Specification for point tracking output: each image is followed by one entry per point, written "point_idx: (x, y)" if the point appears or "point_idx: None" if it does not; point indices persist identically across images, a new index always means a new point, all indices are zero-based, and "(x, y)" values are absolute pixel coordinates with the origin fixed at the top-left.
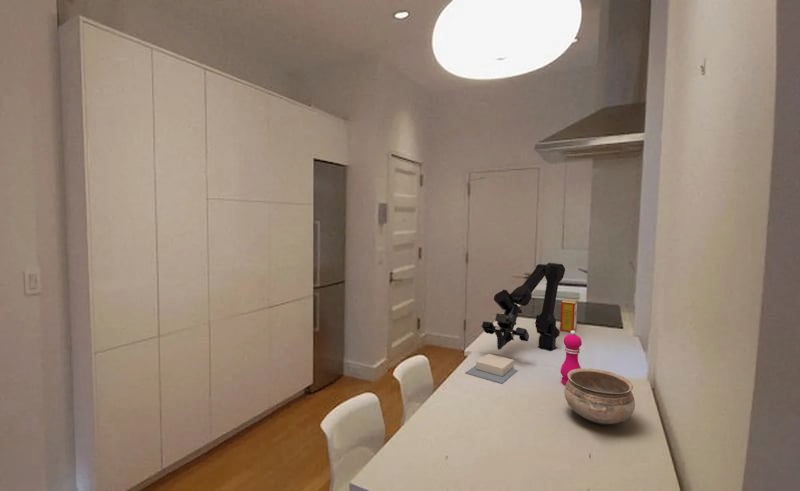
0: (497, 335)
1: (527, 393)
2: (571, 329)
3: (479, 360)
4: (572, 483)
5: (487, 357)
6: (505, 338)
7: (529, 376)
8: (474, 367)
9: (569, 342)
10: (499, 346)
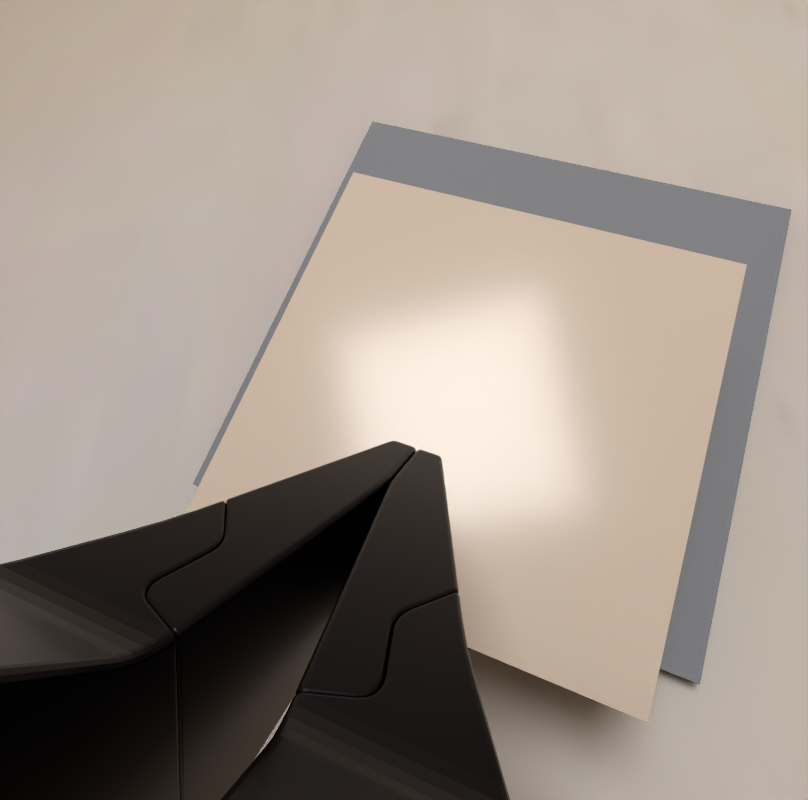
0: (461, 770)
1: (182, 61)
2: None
3: (712, 322)
4: None
5: (617, 495)
6: (88, 545)
7: (93, 376)
8: (736, 379)
9: None
10: (385, 459)
